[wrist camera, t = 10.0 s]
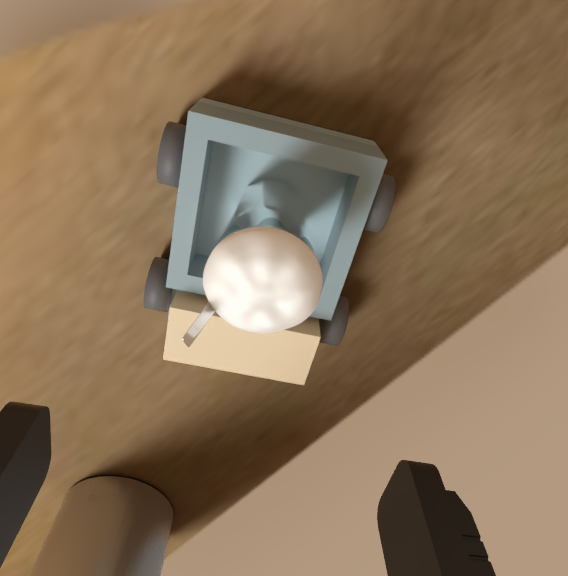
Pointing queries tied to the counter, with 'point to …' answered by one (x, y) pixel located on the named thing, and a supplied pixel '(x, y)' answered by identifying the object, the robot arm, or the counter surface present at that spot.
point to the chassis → (218, 212)
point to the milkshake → (262, 265)
